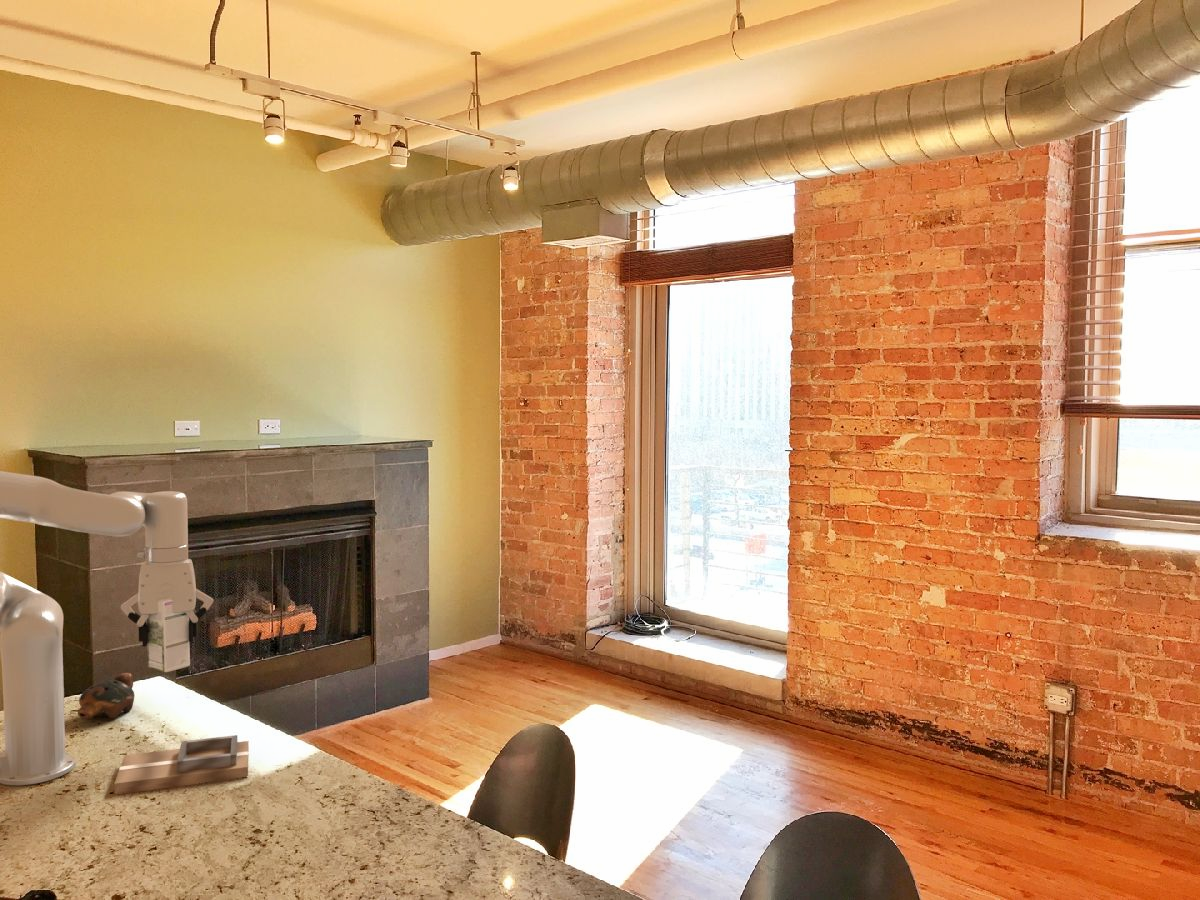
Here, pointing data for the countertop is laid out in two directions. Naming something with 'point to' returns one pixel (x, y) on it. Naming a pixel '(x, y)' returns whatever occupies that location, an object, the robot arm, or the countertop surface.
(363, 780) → the countertop surface
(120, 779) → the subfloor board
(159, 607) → the syrup box
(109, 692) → the decorative turtle
